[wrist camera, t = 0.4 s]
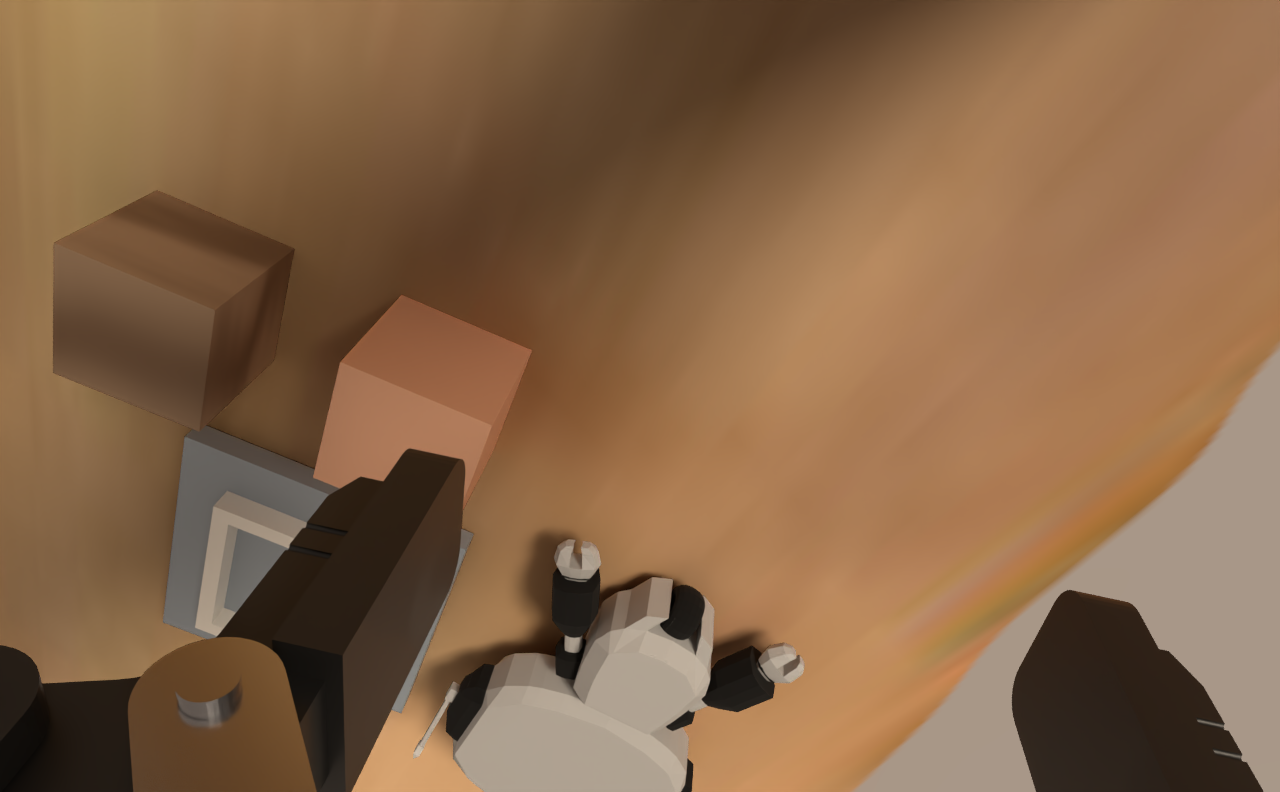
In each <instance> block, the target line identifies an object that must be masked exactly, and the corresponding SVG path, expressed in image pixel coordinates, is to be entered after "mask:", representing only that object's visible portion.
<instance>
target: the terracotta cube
mask: <svg viewBox="0 0 1280 792" xmlns="http://www.w3.org/2000/svg"><path fill="white" fill-rule="evenodd" d="M531 352H532V350H530V349H528V348H525V347H523V346H521V345H518V344H516V343H514V342H511V341H509V340H507V339H504V338H502V337H500V336H497V335H495V334H493V333H490V332H488V331H485V330H483V329H481V328H478V327H476V326H474V325H471V324H469V323H467V322H464V321H462V320H460V319H457V318H455V317H453V316H450V315H448V314H446V313H443V312H441V311H439V310H436V309H434V308H432V307H429V306H427V305H425V304H422V303H420V302H418V301H415V300H413V299H410V298H408V297H406V296H403V295H401V296H400V297H399V298H398V299H397V300H396V301H395V302H394V304H393V305H392V306H391V307H390V308H389V309H388V310H387V311H386V312H385V313H384V315H383V316H382V317H381V318H380V319H379V320H378V321H377V322H376V323H375V324H374V325H373V327H372V328H371V329H370V330H369V331H368V332H367V333H366V334H365V335H364V336H363V338H362V339H361V340H360V341H359V342H358V343H357V344H356V345H355V346H354V347H353V348H352V350H351V351H350V352H349V353H348V354H347V355H346V356H345V357H344V358H343V359H342V361H341V362H340V365H339V369H338V373H337V377H336V382H335V386H334V390H333V394H332V399H331V403H330V407H329V411H328V416H327V420H326V424H325V428H324V432H323V437H322V441H321V445H320V449H319V454H318V458H317V462H316V466H315V471H314V475H313V478H315V479H318V480H320V481H323V482H325V483H328V484H330V485H333V486H335V487H337V488H342V487H344V486H345V485H347V484H349V483H350V482H352V481H354V480H355V479H357V478H359V477H365V478H370V479H375V480H379V481H384V480H385V478H386V477H387V475H388V474H389V473H390V471H391V470H392V468H393V467H394V465H395V464H396V463H397V461H398V460H399V458H400V457H401V456H402V454H403V453H404V452H405V451H406V450H407V449H409V448H411V449H416V450H421V451H425V452H430V453H435V454H439V455H444V456H449V457H454V458H458V459H463V460H464V463H465V485H464V500H463V510H464V508H465V506H466V504H467V502H468V500H469V498H470V496H471V494H472V492H473V490H474V488H475V486H476V484H477V482H478V480H479V478H480V476H481V474H482V472H483V470H484V468H485V466H486V464H487V462H488V460H489V458H490V456H491V454H492V452H493V450H494V448H495V445H496V443H497V440H498V437H499V435H500V432H501V430H502V427H503V425H504V422H505V419H506V417H507V414H508V412H509V409H510V406H511V404H512V401H513V399H514V396H515V394H516V391H517V388H518V386H519V383H520V381H521V378H522V376H523V373H524V370H525V368H526V365H527V363H528V360H529V357H530V355H531Z"/></svg>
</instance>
